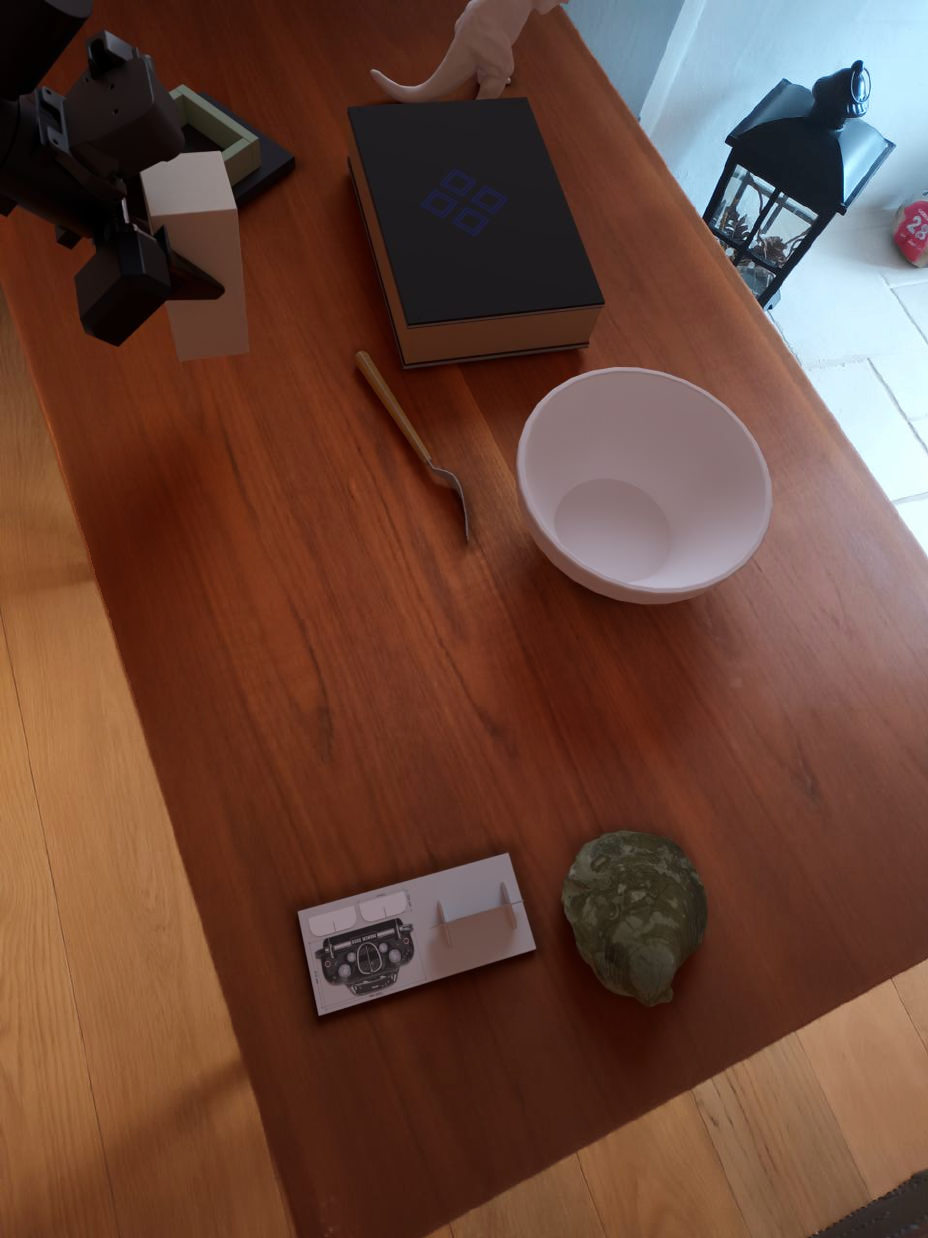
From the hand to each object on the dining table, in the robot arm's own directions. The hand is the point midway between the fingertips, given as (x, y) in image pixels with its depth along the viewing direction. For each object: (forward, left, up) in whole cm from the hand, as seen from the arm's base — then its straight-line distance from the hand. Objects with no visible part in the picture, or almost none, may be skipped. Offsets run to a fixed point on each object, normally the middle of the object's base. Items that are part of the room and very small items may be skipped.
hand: (214, 263), depth 62 cm
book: (+21, +13, -13) cm, 28 cm away
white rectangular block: (-1, 0, -7) cm, 7 cm away
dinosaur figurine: (+24, +35, -13) cm, 45 cm away
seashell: (+26, -47, -13) cm, 55 cm away
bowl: (+30, -17, -13) cm, 37 cm away
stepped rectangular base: (-4, +23, -13) cm, 27 cm away
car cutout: (+11, -46, -13) cm, 49 cm away
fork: (+15, -7, -13) cm, 21 cm away
